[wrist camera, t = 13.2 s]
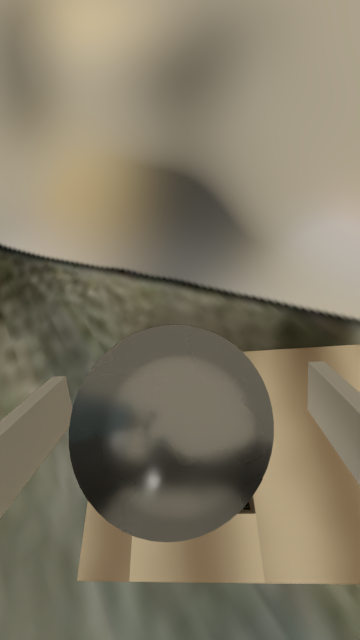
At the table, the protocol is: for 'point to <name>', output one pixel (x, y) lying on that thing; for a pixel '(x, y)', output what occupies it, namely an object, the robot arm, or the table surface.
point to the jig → (261, 503)
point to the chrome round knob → (171, 433)
